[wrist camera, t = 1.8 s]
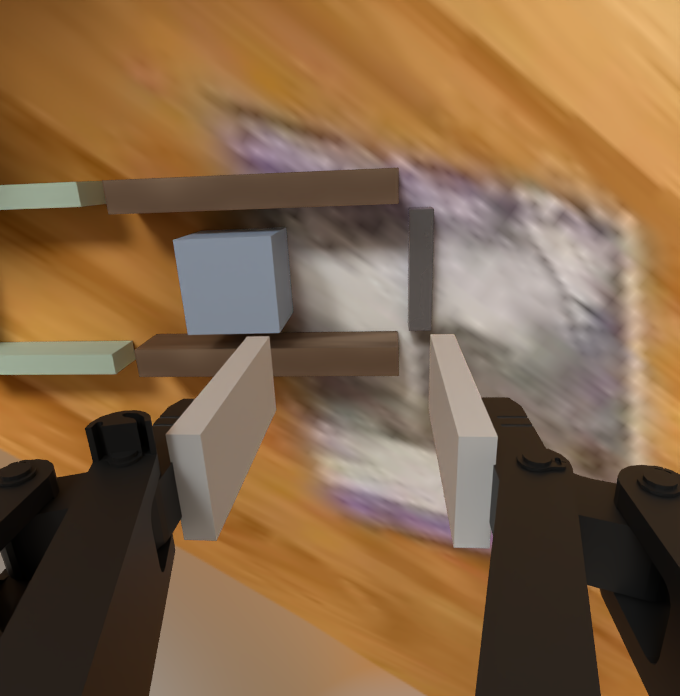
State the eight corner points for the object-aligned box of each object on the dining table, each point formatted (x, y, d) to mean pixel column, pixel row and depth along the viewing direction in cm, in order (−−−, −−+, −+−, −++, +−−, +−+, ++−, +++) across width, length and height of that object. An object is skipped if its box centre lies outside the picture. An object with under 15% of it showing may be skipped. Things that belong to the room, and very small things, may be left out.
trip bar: (408, 207, 32) (409, 209, 31) (431, 207, 32) (433, 208, 31) (408, 324, 35) (408, 330, 34) (429, 324, 35) (431, 330, 34)
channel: (129, 179, 33) (102, 180, 30) (397, 167, 32) (398, 167, 28) (160, 358, 38) (139, 376, 34) (397, 357, 36) (398, 375, 33)
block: (201, 230, 34) (172, 240, 30) (286, 226, 34) (270, 235, 29) (213, 313, 36) (187, 334, 32) (293, 311, 36) (279, 332, 31)
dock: (-67, 188, 35) (-107, 189, 32) (101, 181, 34) (75, 181, 31) (-15, 360, 39) (-46, 375, 36) (135, 359, 38) (115, 374, 35)
